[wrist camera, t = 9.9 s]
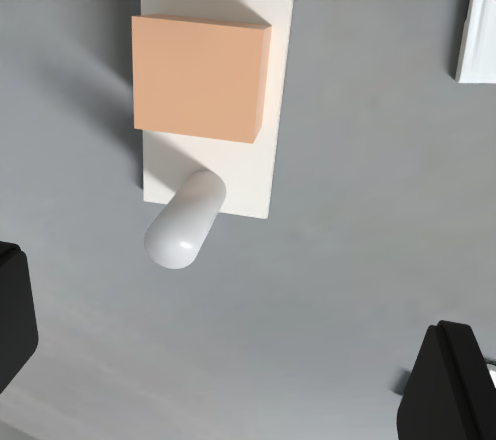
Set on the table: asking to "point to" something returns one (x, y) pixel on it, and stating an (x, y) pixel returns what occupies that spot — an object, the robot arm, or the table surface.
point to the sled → (207, 113)
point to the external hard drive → (478, 44)
